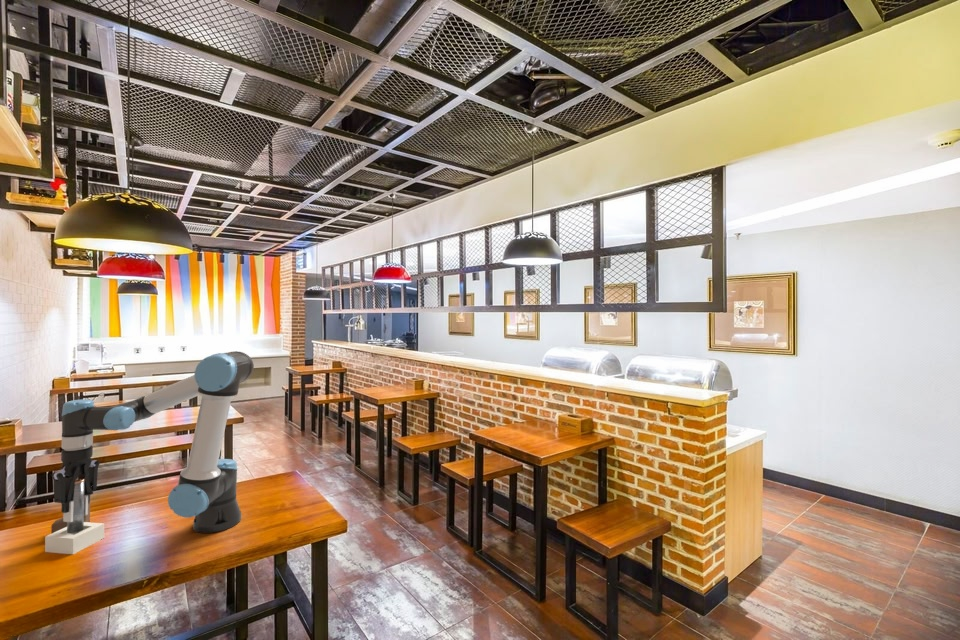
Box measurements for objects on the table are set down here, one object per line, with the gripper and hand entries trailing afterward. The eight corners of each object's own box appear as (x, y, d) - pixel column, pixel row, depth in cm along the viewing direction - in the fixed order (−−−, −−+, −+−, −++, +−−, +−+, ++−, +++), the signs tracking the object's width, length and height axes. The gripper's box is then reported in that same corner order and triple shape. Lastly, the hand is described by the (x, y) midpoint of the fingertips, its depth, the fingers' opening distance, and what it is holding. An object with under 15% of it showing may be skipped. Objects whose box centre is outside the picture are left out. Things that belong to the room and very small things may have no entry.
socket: (104, 538, 144) (104, 523, 144) (73, 554, 134) (73, 538, 134) (77, 536, 145) (78, 521, 145) (45, 552, 135) (45, 536, 135)
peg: (76, 526, 141) (77, 477, 141) (87, 527, 141) (88, 478, 141) (63, 532, 137) (64, 482, 137) (74, 533, 137) (75, 482, 137)
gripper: (93, 439, 148) (91, 505, 148) (37, 454, 131) (36, 529, 131) (112, 440, 147) (111, 507, 147) (59, 456, 130) (57, 531, 130)
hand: (75, 517), depth 139 cm, fingers closed on peg, 4 cm apart
